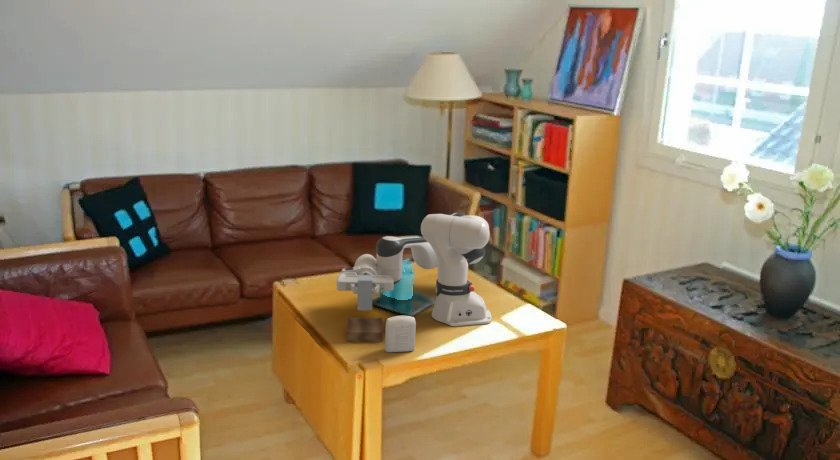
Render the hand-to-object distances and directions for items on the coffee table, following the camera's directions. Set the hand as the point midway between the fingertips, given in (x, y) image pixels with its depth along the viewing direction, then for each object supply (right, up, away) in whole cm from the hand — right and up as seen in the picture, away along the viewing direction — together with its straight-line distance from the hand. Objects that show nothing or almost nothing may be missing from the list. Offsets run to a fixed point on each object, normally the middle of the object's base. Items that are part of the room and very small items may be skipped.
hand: (365, 291), depth 251 cm
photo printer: (+12, -19, -5) cm, 24 cm away
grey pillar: (0, -6, +2) cm, 6 cm away
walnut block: (0, -16, +5) cm, 17 cm away
